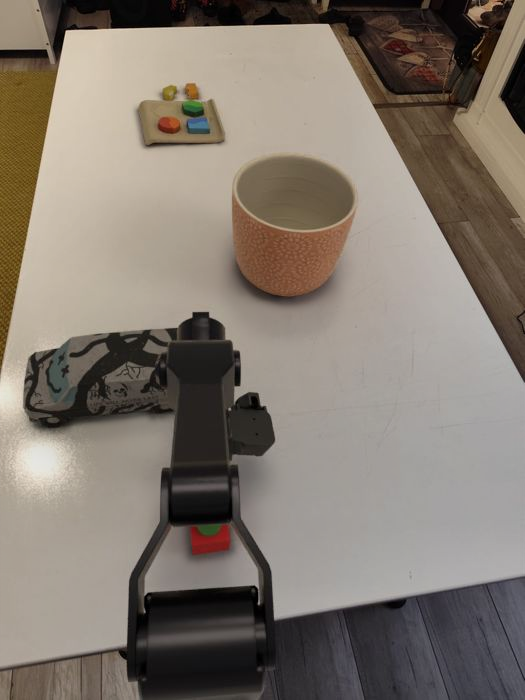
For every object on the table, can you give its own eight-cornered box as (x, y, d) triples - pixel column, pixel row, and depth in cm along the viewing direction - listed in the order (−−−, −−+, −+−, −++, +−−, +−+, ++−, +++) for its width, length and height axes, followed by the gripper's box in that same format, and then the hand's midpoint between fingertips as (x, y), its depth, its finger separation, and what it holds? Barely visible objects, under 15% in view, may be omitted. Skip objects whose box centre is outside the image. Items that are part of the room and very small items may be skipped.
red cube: (229, 549, 69) (230, 538, 65) (192, 555, 68) (191, 544, 64) (224, 514, 72) (225, 501, 68) (190, 519, 71) (188, 506, 67)
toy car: (36, 372, 83) (17, 333, 75) (191, 356, 87) (189, 318, 79) (31, 431, 77) (10, 397, 69) (199, 411, 81) (197, 376, 73)
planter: (214, 246, 103) (215, 161, 88) (309, 226, 108) (326, 144, 93) (251, 324, 92) (259, 243, 77) (354, 298, 98) (381, 218, 82)
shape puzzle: (226, 143, 124) (226, 129, 121) (145, 148, 120) (144, 134, 117) (207, 88, 138) (207, 75, 135) (135, 91, 134) (133, 78, 132)
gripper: (288, 487, 54) (273, 533, 67) (260, 345, 65) (252, 407, 77) (180, 501, 52) (186, 545, 65) (170, 352, 63) (177, 415, 76)
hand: (204, 472), depth 71 cm, fingers closed
